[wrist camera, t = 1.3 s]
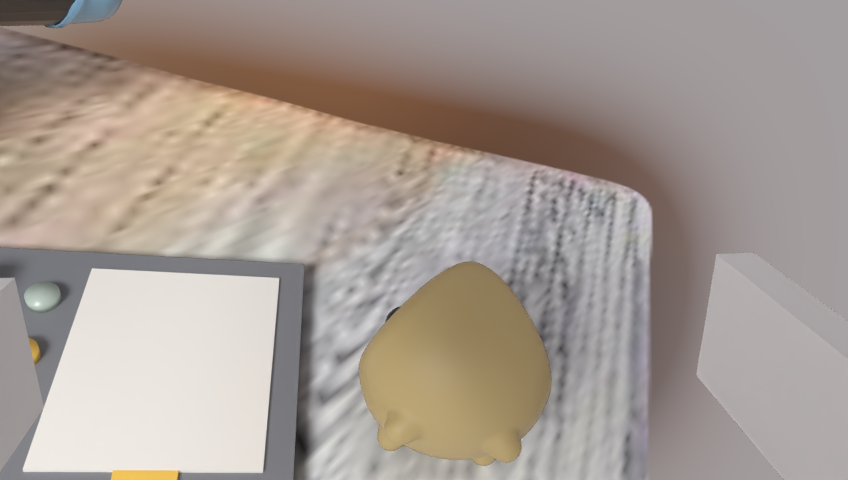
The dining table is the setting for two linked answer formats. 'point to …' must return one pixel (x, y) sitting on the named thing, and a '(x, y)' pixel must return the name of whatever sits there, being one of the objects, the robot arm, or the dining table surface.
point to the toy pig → (457, 370)
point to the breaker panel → (158, 366)
